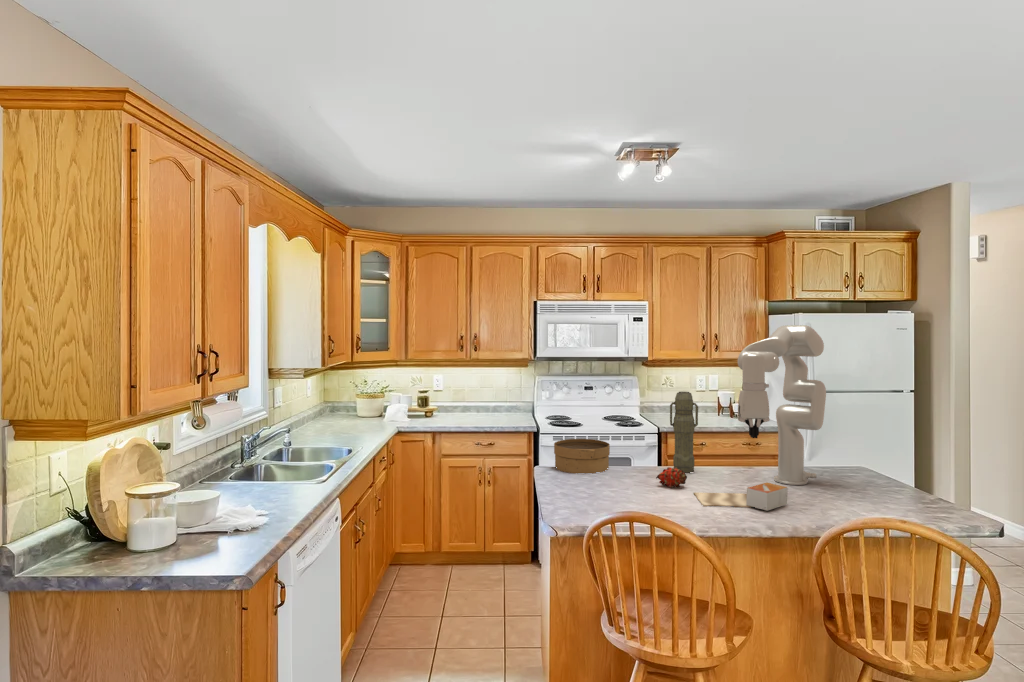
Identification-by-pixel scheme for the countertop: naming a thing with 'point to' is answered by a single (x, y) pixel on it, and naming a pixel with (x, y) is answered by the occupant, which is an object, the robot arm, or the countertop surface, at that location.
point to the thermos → (684, 431)
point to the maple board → (722, 499)
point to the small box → (766, 496)
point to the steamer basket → (581, 455)
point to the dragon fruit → (672, 477)
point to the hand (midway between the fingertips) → (753, 437)
